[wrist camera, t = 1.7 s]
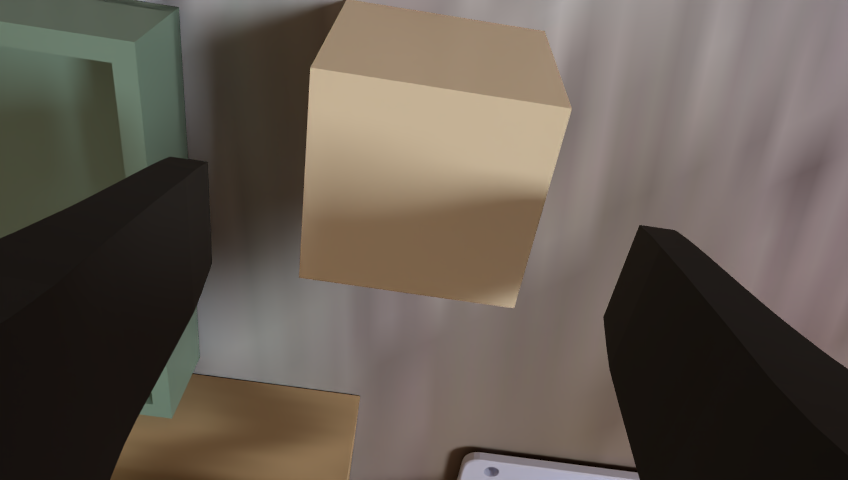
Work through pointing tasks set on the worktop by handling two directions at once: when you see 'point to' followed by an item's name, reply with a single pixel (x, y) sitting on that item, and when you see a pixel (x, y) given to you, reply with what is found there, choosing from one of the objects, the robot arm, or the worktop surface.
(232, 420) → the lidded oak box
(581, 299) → the worktop surface
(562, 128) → the sandstone cube
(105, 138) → the tray
